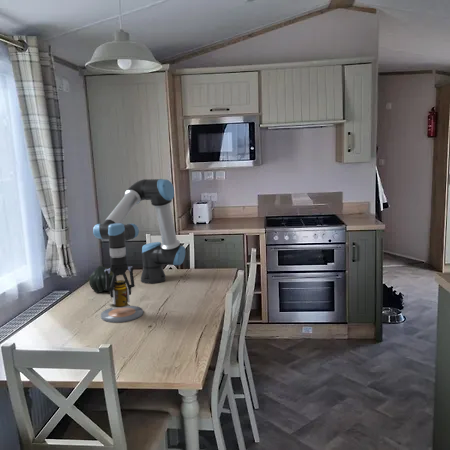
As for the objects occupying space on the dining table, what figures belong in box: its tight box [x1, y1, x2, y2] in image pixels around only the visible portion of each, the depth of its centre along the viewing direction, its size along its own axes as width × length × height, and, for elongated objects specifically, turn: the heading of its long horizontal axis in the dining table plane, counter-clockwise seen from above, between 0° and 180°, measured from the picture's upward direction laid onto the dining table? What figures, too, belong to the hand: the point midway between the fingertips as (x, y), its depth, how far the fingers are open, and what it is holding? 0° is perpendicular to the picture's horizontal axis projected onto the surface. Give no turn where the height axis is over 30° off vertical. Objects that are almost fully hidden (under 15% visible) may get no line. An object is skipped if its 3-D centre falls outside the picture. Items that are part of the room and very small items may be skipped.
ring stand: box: [100, 305, 144, 323], centre depth 221 cm, size 20×20×1 cm
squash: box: [88, 265, 118, 293], centre depth 260 cm, size 14×15×15 cm
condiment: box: [108, 279, 131, 309], centre depth 219 cm, size 7×8×12 cm
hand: (121, 302), depth 220 cm, fingers closed on condiment, 6 cm apart
